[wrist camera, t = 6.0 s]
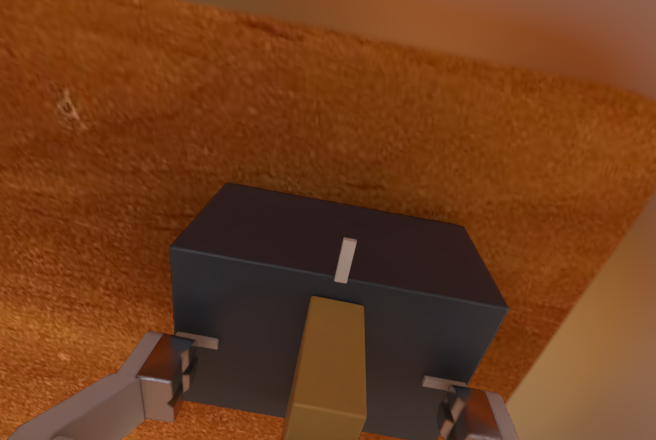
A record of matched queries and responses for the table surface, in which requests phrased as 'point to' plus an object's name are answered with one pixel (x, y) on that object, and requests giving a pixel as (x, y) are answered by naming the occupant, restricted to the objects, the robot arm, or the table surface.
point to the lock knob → (329, 375)
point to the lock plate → (333, 283)
